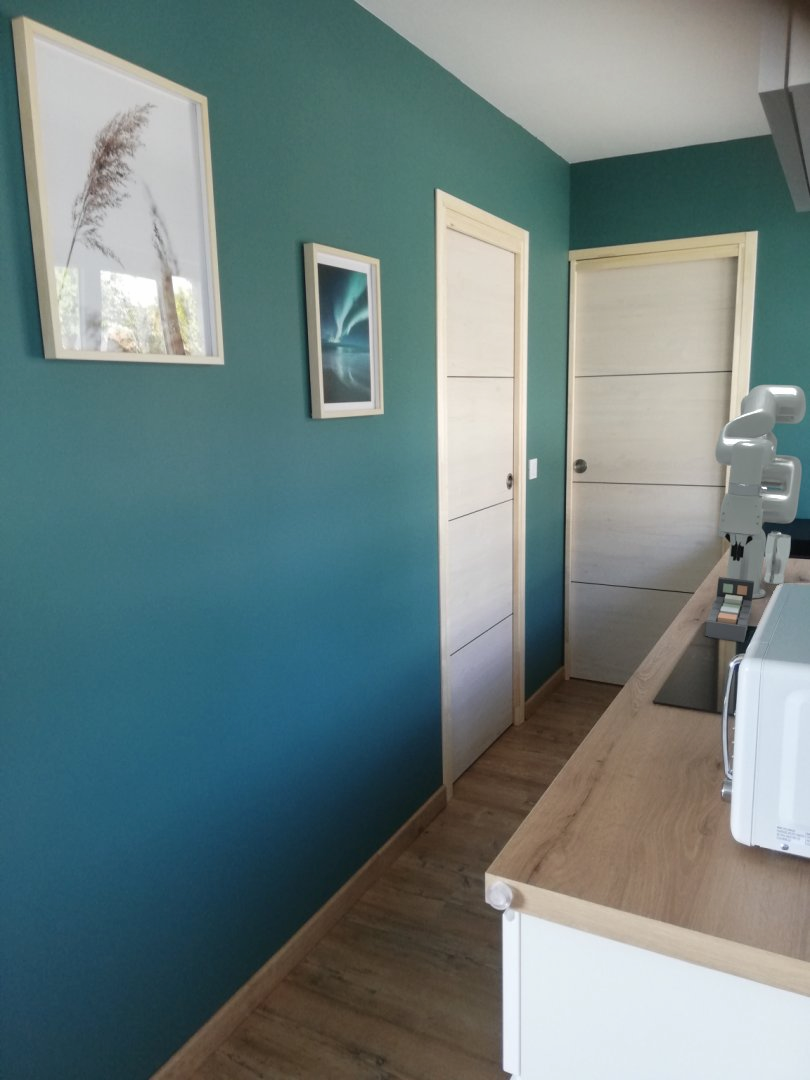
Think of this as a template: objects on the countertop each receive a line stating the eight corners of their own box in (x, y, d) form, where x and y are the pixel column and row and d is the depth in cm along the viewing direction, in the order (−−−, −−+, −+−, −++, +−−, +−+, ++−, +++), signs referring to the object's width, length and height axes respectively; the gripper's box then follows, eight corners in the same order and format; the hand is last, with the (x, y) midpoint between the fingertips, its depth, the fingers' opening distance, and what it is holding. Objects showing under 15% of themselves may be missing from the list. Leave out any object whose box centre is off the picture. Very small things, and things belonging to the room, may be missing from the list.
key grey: (721, 612, 209) (721, 606, 208) (738, 614, 207) (739, 608, 206) (719, 616, 205) (720, 610, 205) (737, 618, 203) (737, 612, 203)
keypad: (715, 608, 224) (719, 576, 222) (750, 612, 220) (754, 581, 218) (705, 636, 200) (708, 601, 198) (743, 642, 196) (747, 607, 194)
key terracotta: (718, 618, 203) (719, 612, 203) (736, 621, 201) (737, 615, 201) (717, 623, 200) (717, 617, 199) (735, 625, 198) (736, 619, 197)
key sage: (722, 608, 214) (723, 603, 214) (739, 611, 212) (740, 605, 212) (721, 613, 211) (722, 607, 210) (738, 615, 209) (739, 609, 208)
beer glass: (788, 586, 248) (794, 538, 244) (764, 584, 249) (769, 537, 246) (782, 580, 254) (788, 534, 251) (759, 578, 256) (764, 532, 252)
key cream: (725, 599, 220) (725, 594, 219) (741, 602, 218) (742, 596, 217) (723, 603, 216) (724, 598, 215) (740, 606, 214) (741, 600, 214)
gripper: (776, 490, 204) (768, 560, 209) (714, 485, 211) (707, 553, 215) (775, 494, 198) (767, 566, 202) (711, 489, 204) (704, 559, 208)
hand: (736, 559), depth 208 cm, fingers closed
